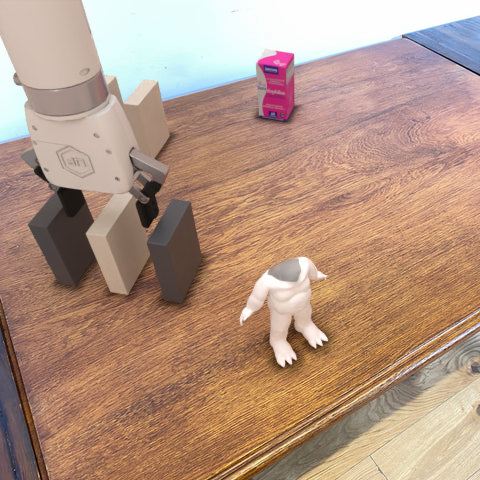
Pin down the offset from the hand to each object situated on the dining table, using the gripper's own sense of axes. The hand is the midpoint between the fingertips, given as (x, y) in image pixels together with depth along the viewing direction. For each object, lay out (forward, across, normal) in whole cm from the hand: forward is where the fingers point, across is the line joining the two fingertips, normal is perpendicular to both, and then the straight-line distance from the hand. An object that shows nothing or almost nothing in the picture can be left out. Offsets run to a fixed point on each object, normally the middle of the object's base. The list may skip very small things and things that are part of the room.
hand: (113, 215), depth 63 cm
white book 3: (+10, -9, +28) cm, 31 cm away
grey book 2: (+11, +7, 0) cm, 13 cm away
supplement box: (+11, +10, +44) cm, 46 cm away
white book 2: (+11, 0, 0) cm, 11 cm away
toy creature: (+11, +24, -6) cm, 27 cm away
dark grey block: (+11, -8, 0) cm, 13 cm away
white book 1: (+10, -16, +28) cm, 34 cm away
